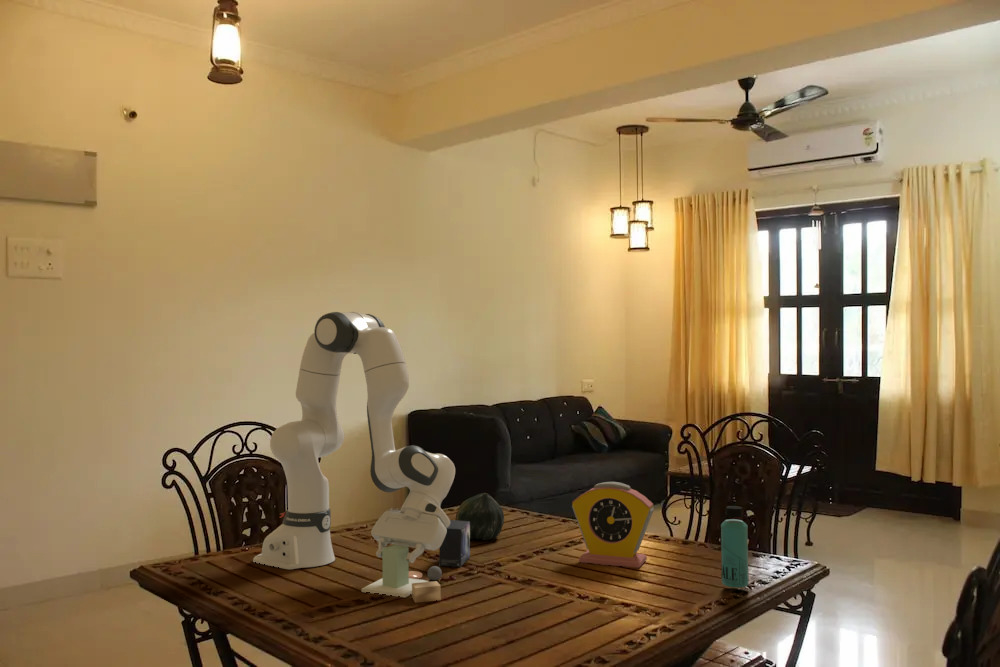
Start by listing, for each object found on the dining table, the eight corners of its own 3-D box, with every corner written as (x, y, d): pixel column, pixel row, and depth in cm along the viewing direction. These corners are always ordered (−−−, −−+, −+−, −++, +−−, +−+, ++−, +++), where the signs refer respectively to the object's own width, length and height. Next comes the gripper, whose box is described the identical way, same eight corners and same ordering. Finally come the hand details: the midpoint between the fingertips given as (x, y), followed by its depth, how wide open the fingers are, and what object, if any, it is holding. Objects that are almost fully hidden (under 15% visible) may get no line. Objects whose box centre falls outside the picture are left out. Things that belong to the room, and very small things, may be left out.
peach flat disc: (389, 580, 208) (389, 576, 208) (403, 573, 215) (403, 570, 215) (414, 582, 206) (414, 579, 206) (427, 575, 212) (427, 572, 212)
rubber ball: (425, 581, 205) (424, 567, 205) (431, 578, 209) (431, 563, 209) (437, 583, 204) (437, 568, 204) (444, 579, 207) (444, 565, 207)
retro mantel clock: (569, 562, 223) (568, 482, 224) (578, 554, 232) (578, 477, 232) (649, 569, 215) (648, 487, 215) (656, 561, 223) (655, 482, 224)
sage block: (382, 585, 200) (382, 548, 200) (394, 580, 203) (394, 544, 204) (396, 588, 197) (396, 550, 197) (408, 583, 201) (408, 546, 201)
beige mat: (361, 591, 197) (361, 588, 197) (387, 578, 208) (387, 575, 208) (405, 597, 192) (405, 594, 192) (429, 583, 203) (429, 580, 203)
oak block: (415, 603, 189) (415, 588, 189) (412, 598, 192) (411, 583, 192) (440, 600, 190) (440, 585, 190) (437, 595, 194) (436, 581, 194)
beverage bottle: (749, 587, 198) (748, 504, 199) (748, 595, 192) (747, 509, 192) (722, 585, 201) (721, 503, 201) (720, 592, 194) (719, 508, 195)
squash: (454, 514, 261) (457, 484, 251) (500, 515, 262) (505, 485, 253) (454, 552, 250) (458, 522, 240) (503, 553, 252) (508, 523, 242)
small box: (461, 568, 218) (461, 528, 218) (438, 566, 219) (438, 527, 220) (471, 557, 228) (471, 520, 229) (448, 556, 230) (448, 519, 230)
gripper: (381, 500, 212) (355, 546, 204) (445, 508, 201) (420, 557, 193) (393, 514, 216) (368, 560, 207) (456, 523, 205) (432, 571, 196)
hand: (394, 558), depth 200 cm, fingers open, 8 cm apart
